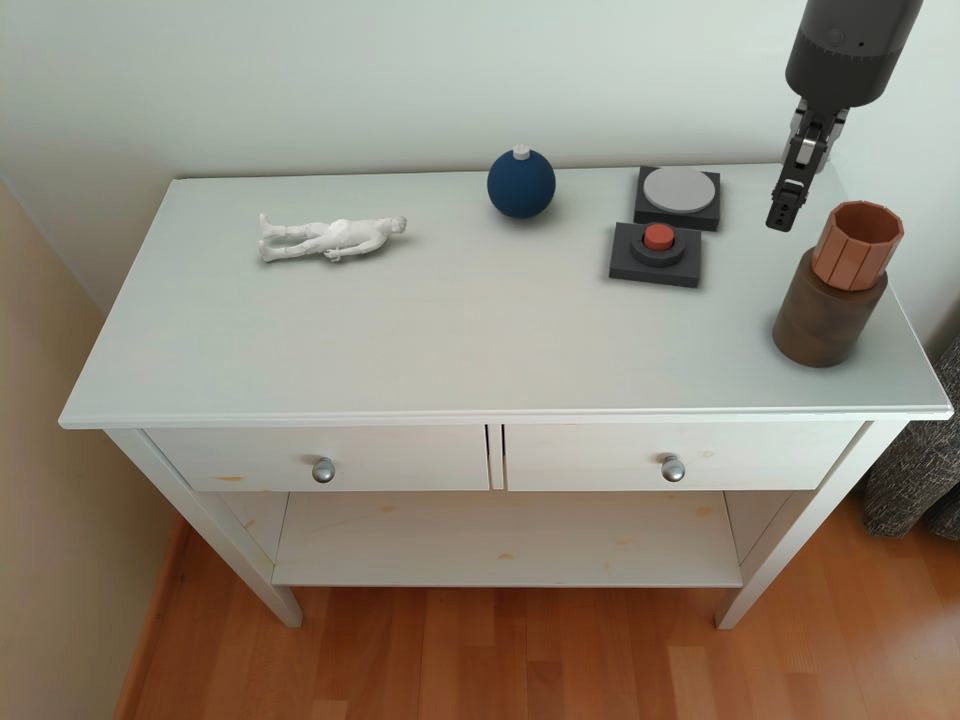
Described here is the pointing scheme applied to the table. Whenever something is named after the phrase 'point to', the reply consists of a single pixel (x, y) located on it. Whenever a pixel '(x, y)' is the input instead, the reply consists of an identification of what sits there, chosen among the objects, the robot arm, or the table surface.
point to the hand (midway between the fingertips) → (788, 199)
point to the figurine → (330, 237)
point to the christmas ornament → (521, 183)
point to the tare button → (658, 237)
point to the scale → (678, 197)
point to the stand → (822, 317)
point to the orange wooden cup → (856, 245)
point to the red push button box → (656, 256)
